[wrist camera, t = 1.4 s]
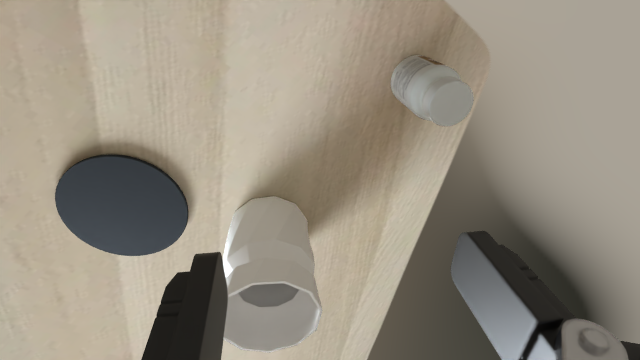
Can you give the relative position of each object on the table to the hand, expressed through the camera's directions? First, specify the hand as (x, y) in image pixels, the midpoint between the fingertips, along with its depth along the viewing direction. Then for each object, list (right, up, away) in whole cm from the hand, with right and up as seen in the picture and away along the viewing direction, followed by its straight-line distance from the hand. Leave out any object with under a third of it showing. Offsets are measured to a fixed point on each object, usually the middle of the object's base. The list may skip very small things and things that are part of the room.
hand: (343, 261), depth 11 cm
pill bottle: (+8, +12, +20) cm, 25 cm away
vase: (-6, -2, +26) cm, 27 cm away
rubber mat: (-20, 0, +23) cm, 30 cm away
